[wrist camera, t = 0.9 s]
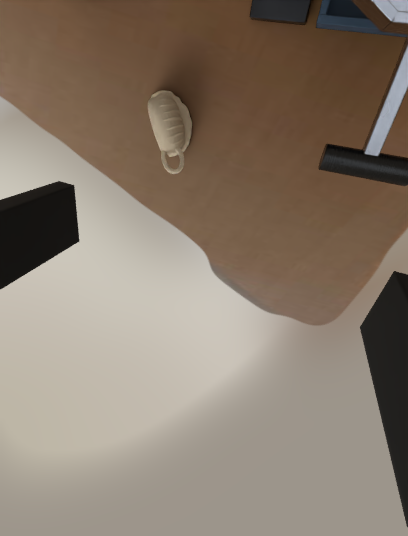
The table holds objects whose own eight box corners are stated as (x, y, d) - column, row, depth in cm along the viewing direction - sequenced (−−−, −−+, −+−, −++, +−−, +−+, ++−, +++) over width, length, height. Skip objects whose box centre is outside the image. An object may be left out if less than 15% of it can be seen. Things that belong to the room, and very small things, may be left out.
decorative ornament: (183, 84, 31) (163, 81, 27) (200, 163, 35) (185, 172, 31) (151, 94, 33) (127, 93, 28) (170, 169, 37) (152, 178, 32)
